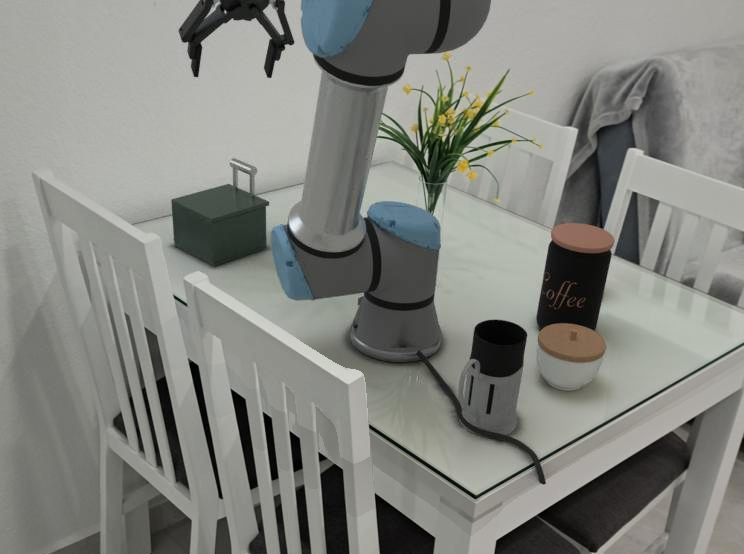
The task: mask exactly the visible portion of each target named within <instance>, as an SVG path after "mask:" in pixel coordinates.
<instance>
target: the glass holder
mask: <svg viewBox="0 0 744 554" xmlns="http://www.w3.org/2000/svg"><path fill="white" fill-rule="evenodd" d="M527 340H528V333H527V331H526V329H524V327H522V326H521V325H519V324H518V323H515V322H512V321H509V320H504V319H486V320H483V321H480V322H478V323H477V324H476V325H475V326H474V328H473V336H472V344H471V352H470V355H469V358H468V361H467V362H466V364H465V365H464V367H462V370H461V373H460V376H459V382H458V389H457V390H458V391H457V392H458V400H459V402H460V405H461V408H462V415H463V417H464V418H465V420H466V421H467V422H469V423H470V424H472V425H473V426H475V427H477V428H479V429H482V430H486V431H490V432H494V433H499V434H503V435H507V436H508V435H509V434H512V432H514V431H515V430H516V428H517V425H518V421H517V420H518V419H517V417H516V412H517V408H518V407H517V406H518V400H519V395H520V388H521V383H522V377H523V371H524V364H525V363H524V362H525V353H526V352H525V351H526V346H527ZM458 420H459V421H458V422H459V423H460V424H461V426H462V427H463V428H464V429H465V430H467V431H469V432H471V433H472V434H474V435H478V436H481V437H484V436H483V435H480V434H477V433H475V432H473V431H471V430H469V429H468V428H467V427H465V426H464V425H463V424H462V422H461V421H460V419H459V418H458Z"/></svg>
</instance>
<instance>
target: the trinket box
mask: <svg viewBox="0 0 744 554" xmlns="http://www.w3.org/2000/svg"><path fill="white" fill-rule="evenodd" d="M536 345H537V347H536V364H537V367H538V370H539V372H540V374H541V375H542V377H543V378H544V380H545V382H546V383H547V384H548V385H549V386H551V387H552V388H554V389H556V390H559V391H565V392H573V391H578V390H580V389H581V388H582V387H584V386H587V385H588V384H589V383H590V382H592V380H593V379H594V378H595V377H596V376H597V374H598V373H599V370H600V369H601V366H602V363H603V359H604V356H605V354H606V350H607V341H606V340H605V338H604V337H603V336H602V335H601V334H600V333H599V332H596V330H595V331H593V330H591V329H589V328H587V327H583V326H580V325H575V324H567V323H559V324H552V325H549V326H546V327H544V328H543V329H542V330H540V331H539V332H538V336H537V344H536Z"/></svg>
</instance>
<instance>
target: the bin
mask: <svg viewBox="0 0 744 554" xmlns="http://www.w3.org/2000/svg"><path fill="white" fill-rule="evenodd" d="M171 216H172V231H173V232H172V233H173V244H174V245H173V246H174V247H175V248H178V249H179V250H181V251H184V252H185V253H187V254H188V255H191V256H193V257H194V258H196V259H198V260H200V261H202V262H204V263H206V264H208V265H209V266H211V267H217V266H220V265H222V264H226V263H229V262H231V261H235V260H238V259H241V258H243V257H246V256H249V255H252V254H255V253H257V252H260V251H263V250H266V249H267V206H266V207H262V208H259V209H256V210H252V211H249V212H246V213H243V214H239V215H236V216H233V217H229V218H226V219H223V220H220V221H216V222H213V223H211V222H209V221H207V220H205V219H203V218H201V217H199V216H197V215H195V214H193V213H191V212H189V211H187V210H184V209H182V208H180V207H178V206H176V205H174V204H172V203H171Z"/></svg>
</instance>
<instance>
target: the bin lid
mask: <svg viewBox="0 0 744 554" xmlns="http://www.w3.org/2000/svg"><path fill="white" fill-rule="evenodd" d="M229 166H230V167H231V168H232V184H231V183H226V184H222V185H219V186H215V187H211V188H208V189H204V190H201V191H197V192H193V193H190V194H186V195H183V196H179V197H175V198H172V199H170V202H171V205H172V204H174V205H176V206H178V207H180V208H182V209H184V210H187V211H189V212H191V213H193V214H195V215H197V216H199V217H201V218H203V219H205V220H207V221H209V222H211V223H213V222H216V221H220V220H223V219H226V218H229V217H233V216H236V215H239V214H243V213H246V212H249V211H252V210H256V209H259V208H262V207H266V208H267V207H269V206H270V201H269V200H266V199H264V198H262V197H259V196H257V195H256V189H255V188H256V183H255V182H256V181H255V178H256V177H255V176H256V175H257V174H258V168H257V167H256V166H254V165H252V164H249V163H248V162H245V161H242V160H240V159H237V158H236V157H235V158H234V157H233V158H231V159H230V160H229ZM238 171H239V172H242V173H244V174H247V175H248V176H249V191H246V190H244V189H242V188H239V175H238V173H239V172H238Z"/></svg>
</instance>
